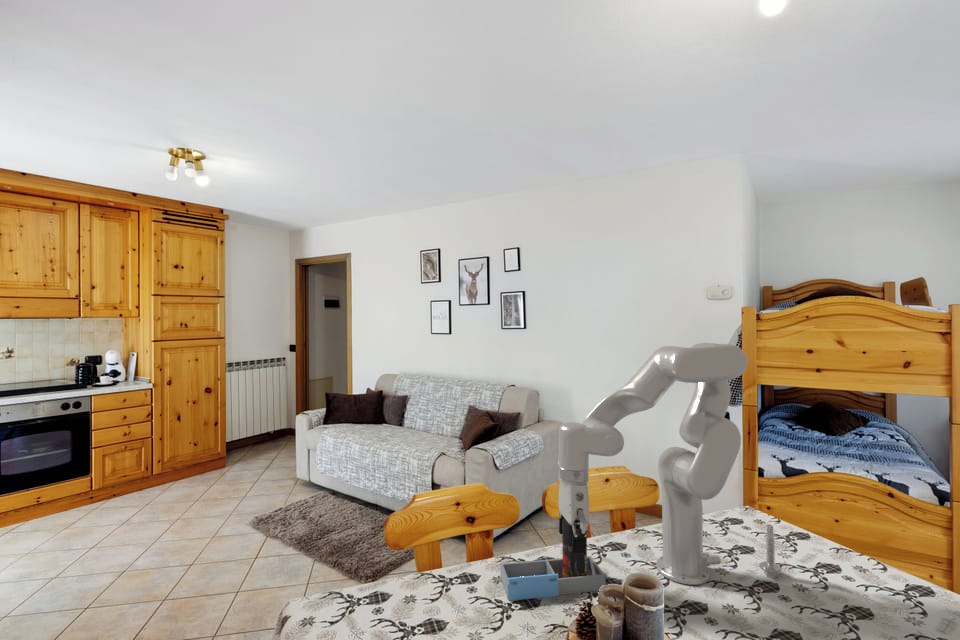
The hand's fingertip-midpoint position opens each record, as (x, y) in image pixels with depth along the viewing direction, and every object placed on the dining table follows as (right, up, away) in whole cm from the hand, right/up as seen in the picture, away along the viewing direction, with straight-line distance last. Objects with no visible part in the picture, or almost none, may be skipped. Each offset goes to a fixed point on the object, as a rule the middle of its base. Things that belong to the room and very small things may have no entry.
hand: (571, 542), depth 112 cm
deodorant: (+1, -10, 0) cm, 10 cm away
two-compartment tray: (-5, -10, -1) cm, 11 cm away
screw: (+51, -10, +2) cm, 52 cm away
